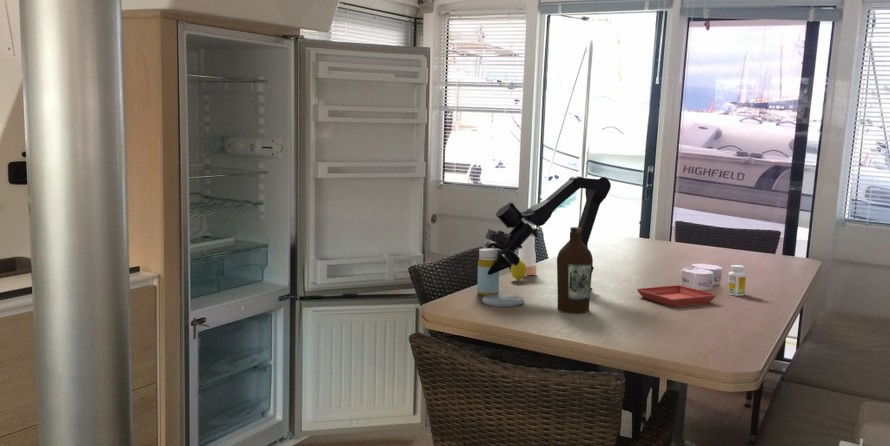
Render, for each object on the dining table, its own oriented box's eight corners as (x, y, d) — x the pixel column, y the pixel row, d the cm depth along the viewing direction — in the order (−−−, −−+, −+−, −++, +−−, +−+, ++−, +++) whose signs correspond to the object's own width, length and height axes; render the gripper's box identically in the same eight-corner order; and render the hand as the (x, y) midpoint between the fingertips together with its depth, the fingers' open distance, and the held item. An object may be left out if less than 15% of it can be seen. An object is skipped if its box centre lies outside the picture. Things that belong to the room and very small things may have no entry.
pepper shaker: (514, 275, 284) (515, 224, 282) (519, 272, 290) (521, 222, 288) (533, 277, 281) (534, 225, 279) (538, 273, 288) (539, 223, 286)
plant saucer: (634, 298, 248) (635, 288, 248) (678, 294, 255) (679, 284, 255) (671, 309, 231) (672, 299, 231) (717, 305, 239) (718, 294, 238)
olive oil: (550, 306, 232) (552, 225, 229) (582, 305, 235) (585, 225, 232) (563, 314, 222) (565, 230, 219) (596, 313, 224) (599, 229, 221)
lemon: (525, 282, 270) (525, 260, 269) (509, 281, 271) (510, 259, 270) (526, 279, 275) (527, 258, 274) (511, 279, 276) (511, 257, 276)
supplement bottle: (744, 293, 255) (745, 265, 254) (744, 296, 250) (746, 267, 249) (727, 292, 257) (728, 264, 256) (727, 295, 252) (729, 266, 251)
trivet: (532, 302, 237) (532, 298, 237) (505, 309, 228) (505, 305, 228) (501, 296, 247) (501, 292, 246) (473, 302, 238) (474, 298, 237)
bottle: (476, 292, 252) (476, 248, 250) (496, 292, 252) (497, 247, 251) (478, 297, 245) (479, 251, 243) (500, 296, 246) (500, 251, 244)
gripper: (490, 217, 256) (459, 251, 254) (511, 224, 238) (477, 260, 236) (511, 240, 259) (480, 273, 257) (533, 248, 241) (500, 283, 239)
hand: (484, 272), depth 247 cm, fingers closed on bottle, 7 cm apart
